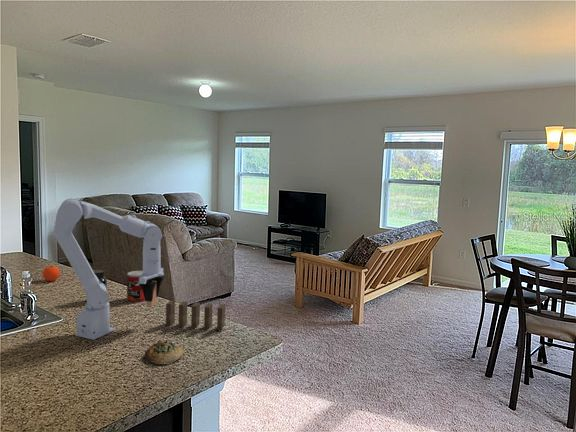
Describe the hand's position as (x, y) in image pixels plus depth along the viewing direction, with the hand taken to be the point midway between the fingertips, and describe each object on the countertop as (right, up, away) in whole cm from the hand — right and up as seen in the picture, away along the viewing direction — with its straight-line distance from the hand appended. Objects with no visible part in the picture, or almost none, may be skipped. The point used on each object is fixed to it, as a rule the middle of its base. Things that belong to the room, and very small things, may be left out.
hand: (151, 299), depth 147 cm
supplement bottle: (-29, -6, +25) cm, 39 cm away
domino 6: (+23, -11, +1) cm, 26 cm away
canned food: (-15, -6, +29) cm, 33 cm away
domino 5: (+19, -10, +2) cm, 22 cm away
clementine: (-61, -1, +50) cm, 79 cm away
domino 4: (+14, -10, +2) cm, 18 cm away
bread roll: (+11, -13, -21) cm, 27 cm away
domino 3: (+10, -10, +3) cm, 14 cm away
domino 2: (+5, -10, +3) cm, 11 cm away
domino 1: (0, -2, 0) cm, 2 cm away
